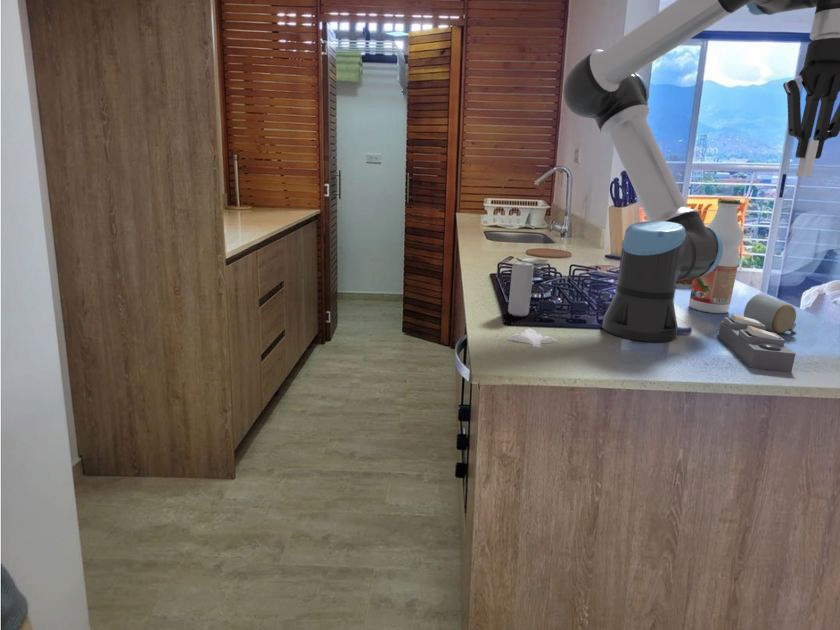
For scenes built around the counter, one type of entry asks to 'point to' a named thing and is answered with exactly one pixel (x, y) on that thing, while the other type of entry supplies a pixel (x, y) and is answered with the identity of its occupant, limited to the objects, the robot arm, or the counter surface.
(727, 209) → the fruit juice
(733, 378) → the counter surface
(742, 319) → the rocker outlet
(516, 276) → the beverage can
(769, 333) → the rocker outlet
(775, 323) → the ceramic mug
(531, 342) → the acanthus leaf ornament
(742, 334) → the power strip
